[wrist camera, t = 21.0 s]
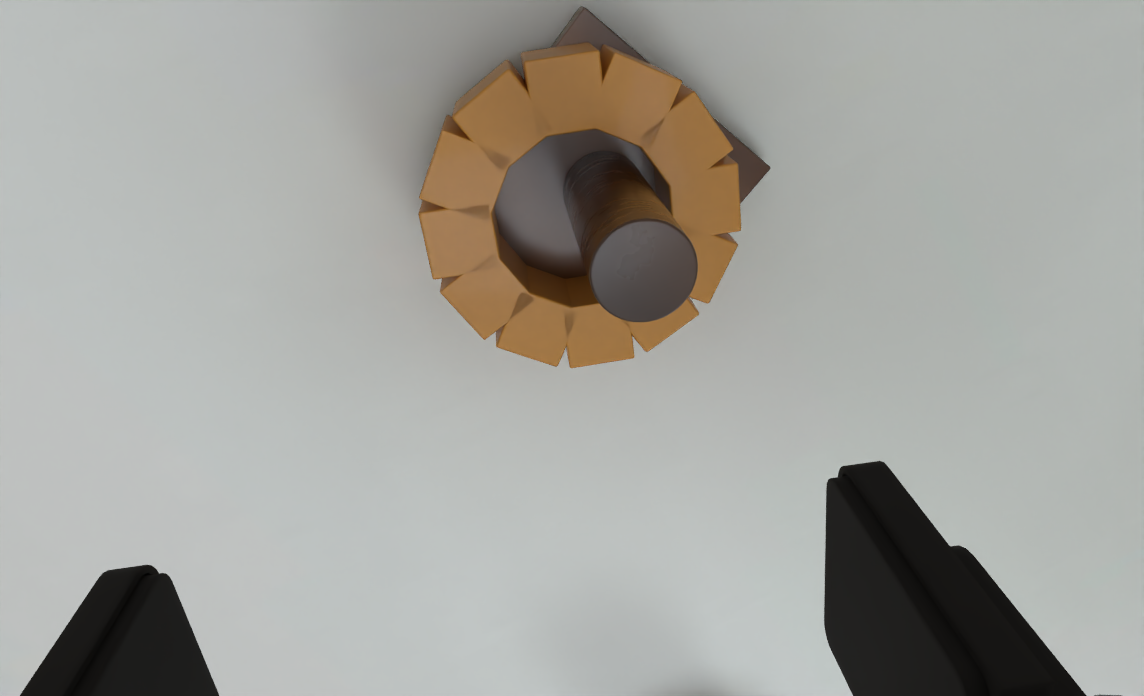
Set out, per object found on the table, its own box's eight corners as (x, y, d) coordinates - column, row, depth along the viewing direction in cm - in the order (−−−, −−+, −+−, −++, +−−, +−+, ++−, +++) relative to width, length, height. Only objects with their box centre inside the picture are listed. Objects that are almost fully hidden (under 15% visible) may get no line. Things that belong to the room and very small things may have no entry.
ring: (709, 23, 28) (732, 29, 26) (726, 309, 33) (747, 340, 30) (398, 70, 28) (388, 81, 25) (459, 352, 33) (456, 387, 30)
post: (580, 5, 29) (623, 22, 20) (762, 161, 32) (873, 240, 22) (434, 206, 31) (411, 305, 22) (614, 333, 34) (660, 468, 25)
